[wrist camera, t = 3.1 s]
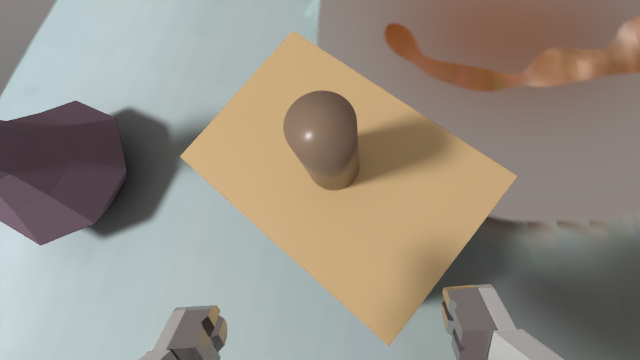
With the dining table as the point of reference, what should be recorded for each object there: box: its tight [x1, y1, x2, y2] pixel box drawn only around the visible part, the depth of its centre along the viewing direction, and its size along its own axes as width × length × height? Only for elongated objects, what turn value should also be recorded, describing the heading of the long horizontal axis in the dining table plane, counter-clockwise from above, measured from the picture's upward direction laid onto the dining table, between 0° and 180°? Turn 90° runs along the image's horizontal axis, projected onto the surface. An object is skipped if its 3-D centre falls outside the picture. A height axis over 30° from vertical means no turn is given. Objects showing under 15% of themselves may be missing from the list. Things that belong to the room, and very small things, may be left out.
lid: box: [180, 31, 517, 346], centre depth 22 cm, size 15×22×11 cm
